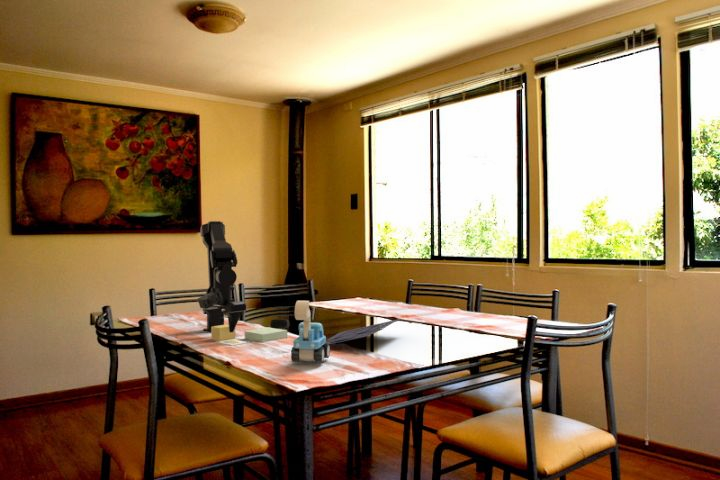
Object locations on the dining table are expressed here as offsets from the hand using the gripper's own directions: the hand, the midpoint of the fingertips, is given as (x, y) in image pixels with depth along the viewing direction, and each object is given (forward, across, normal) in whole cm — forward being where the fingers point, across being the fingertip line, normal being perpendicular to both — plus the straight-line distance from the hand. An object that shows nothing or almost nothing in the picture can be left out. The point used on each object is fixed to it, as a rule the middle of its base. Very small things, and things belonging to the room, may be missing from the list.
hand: (223, 330), depth 182 cm
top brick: (+3, 0, 0) cm, 3 cm away
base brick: (+3, +10, +10) cm, 15 cm away
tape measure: (+2, +4, +24) cm, 25 cm away
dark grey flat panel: (+4, +36, +26) cm, 45 cm away
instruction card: (+3, +8, -2) cm, 9 cm away
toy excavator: (+3, +48, -6) cm, 49 cm away
